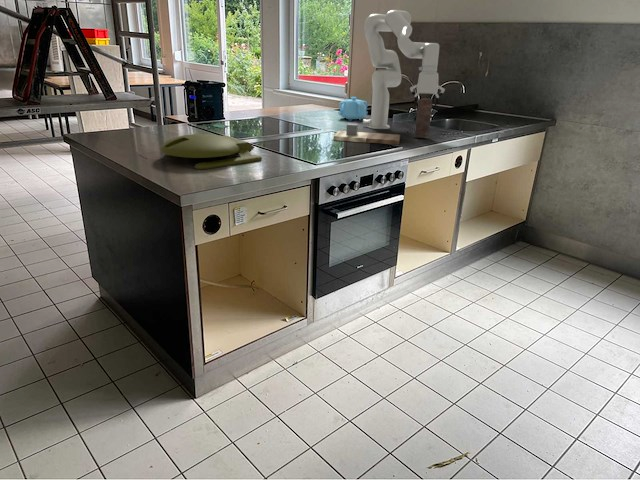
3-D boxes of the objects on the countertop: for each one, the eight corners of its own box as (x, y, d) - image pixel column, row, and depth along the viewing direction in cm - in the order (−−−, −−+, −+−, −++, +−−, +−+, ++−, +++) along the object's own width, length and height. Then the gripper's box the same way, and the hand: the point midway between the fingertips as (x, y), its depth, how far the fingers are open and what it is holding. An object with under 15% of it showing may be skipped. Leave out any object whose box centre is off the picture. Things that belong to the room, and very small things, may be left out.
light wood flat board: (333, 140, 239) (333, 136, 238) (338, 134, 254) (338, 130, 253) (398, 144, 234) (399, 140, 234) (399, 138, 249) (400, 134, 248)
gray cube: (346, 134, 243) (346, 124, 241) (347, 133, 247) (348, 123, 245) (356, 135, 242) (356, 125, 240) (357, 133, 246) (357, 123, 244)
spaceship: (225, 148, 216) (224, 125, 212) (264, 161, 195) (264, 137, 191) (148, 157, 195) (146, 133, 191) (183, 174, 173) (181, 147, 170)
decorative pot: (344, 122, 293) (345, 99, 288) (332, 117, 309) (333, 95, 304) (373, 121, 300) (375, 98, 294) (360, 116, 316) (361, 95, 311)
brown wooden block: (419, 139, 248) (424, 99, 240) (411, 137, 254) (415, 97, 246) (431, 138, 251) (436, 99, 244) (422, 136, 257) (427, 97, 250)
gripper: (411, 69, 238) (408, 105, 244) (447, 70, 235) (443, 107, 241) (411, 69, 244) (408, 104, 251) (446, 70, 242) (442, 105, 248)
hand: (425, 105), depth 246 cm, fingers open, 9 cm apart
